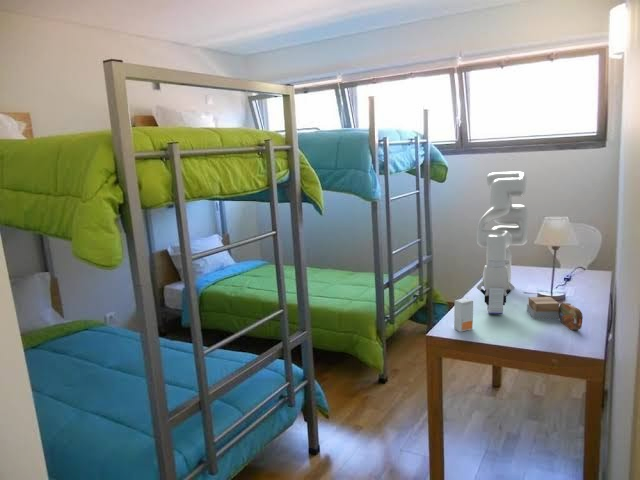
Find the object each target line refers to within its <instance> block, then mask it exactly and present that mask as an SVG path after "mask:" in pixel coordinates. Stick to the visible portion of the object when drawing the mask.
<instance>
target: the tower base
mask: <svg viewBox="0 0 640 480" xmlns="http://www.w3.org/2000/svg"><path fill="white" fill-rule="evenodd" d="M526 312H527V313H528V314H529V316H530V317H531V319H532V320H560V319H559V314H558V312H536V311H534V310H533V309H532V308H531V307H530V306H529V303H528V304H526Z"/></svg>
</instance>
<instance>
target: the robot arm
mask: <svg viewBox="0 0 640 480" xmlns="http://www.w3.org/2000/svg"><path fill="white" fill-rule="evenodd" d="M486 183H487V186H488V189H490V190H489V191H490V192H489V207H488V209H487V211H486V212H485V213H483V215H482V216H481V217H480V219H479V220H478V223H477V228H476V244H477V245H478V246H479V247H480V248H486V265H484V267H483V272H482V280H481V282H480V283H478V284H477V286H476V289H477V290H479V292H480V293H482V294H483V295H484V303H485V304H486V306H487V305H489V296H488V293H489V290H490V288H504V296H503V306H506V305H505V304H506V303H507V296H508V295H509V294H511V292H512V291H513V290H515V285H514V284H513V283H512V282H511V281H512V280H511V279H512V277H511V276H512V252H511V250H510V249H509V247H510V246H524V245H526V244H527V242H528V235H529V230H528V229H529V211H528V207H527V206H526V205H524V204H513V203H512V200H513V199H512V198H520V197H524V196H525V193H526V191H527V183H528V182H527V175H526V173H525V172H523V171H497V172H496V171H494V172H491V173H488V174H487V176H486ZM491 221H494V222H495V223H496V224H500V225H495V226H493V227H492V228H490V229H485V226H486V225H487V224H488V223H490V222H491ZM482 287H483V288H482Z"/></svg>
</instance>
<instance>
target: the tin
mask: <svg viewBox="0 0 640 480" xmlns="http://www.w3.org/2000/svg"><path fill="white" fill-rule="evenodd" d="M558 314H559V319H558V320H559V321H560V322H561V324H562V325H564V326H565V327H566V328H568V329H569V330H571V331H573V330H574V331H575V330H577V331H578V330H580V329H581V328H582V326H583V317H584V316H583V314H582V311H581V309H580V308H577V307H576V306H574V305H572V303H567V302H562V303H559V310H558Z"/></svg>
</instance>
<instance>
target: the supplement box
mask: <svg viewBox="0 0 640 480" xmlns="http://www.w3.org/2000/svg"><path fill="white" fill-rule="evenodd" d="M488 296H489V305H487V304H486V306H487V307H486V309H487V312H488V315H504V305H503V296H504V288H490V290H489V293H488Z"/></svg>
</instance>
